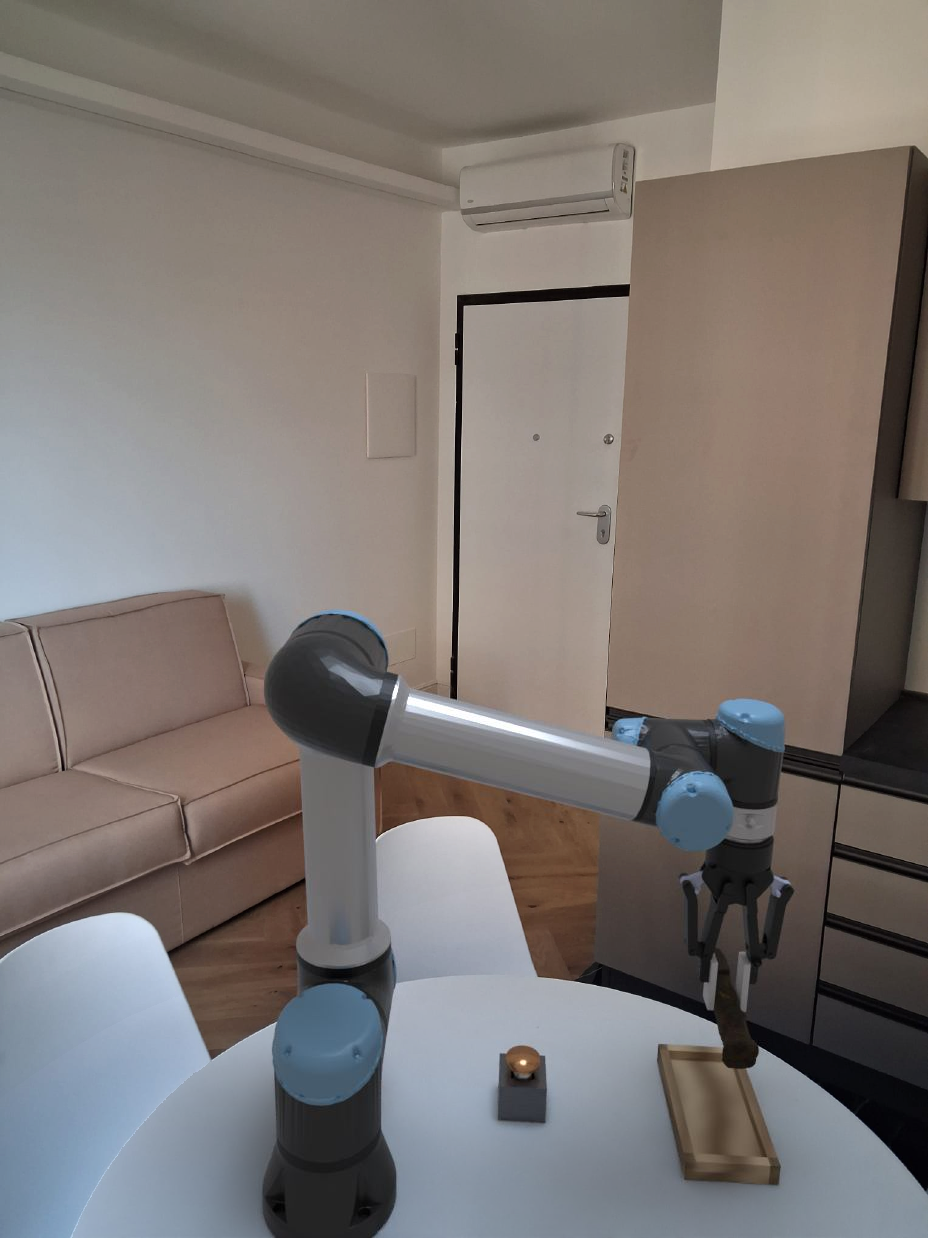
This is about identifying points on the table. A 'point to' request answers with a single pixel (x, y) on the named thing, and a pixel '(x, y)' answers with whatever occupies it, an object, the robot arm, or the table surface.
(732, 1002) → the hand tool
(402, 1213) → the table surface
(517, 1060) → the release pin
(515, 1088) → the socket block
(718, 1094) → the tray
